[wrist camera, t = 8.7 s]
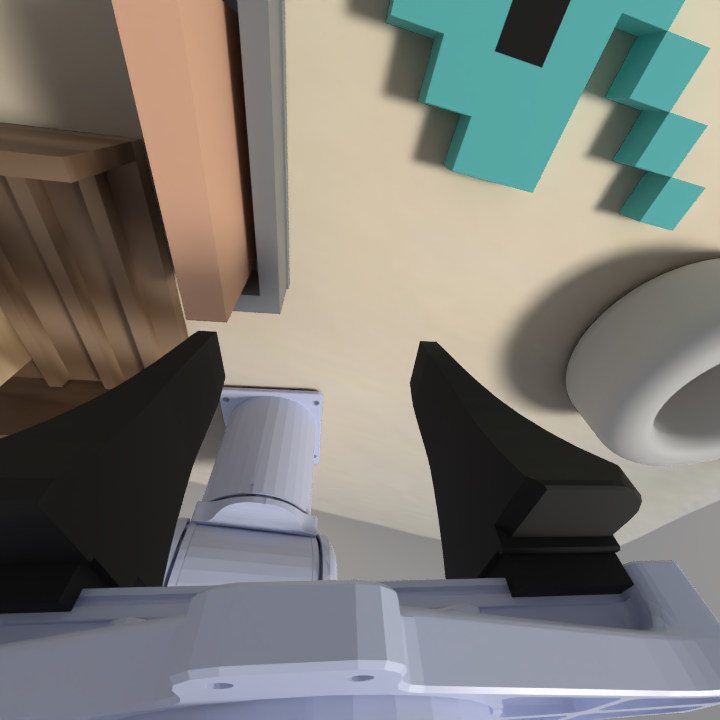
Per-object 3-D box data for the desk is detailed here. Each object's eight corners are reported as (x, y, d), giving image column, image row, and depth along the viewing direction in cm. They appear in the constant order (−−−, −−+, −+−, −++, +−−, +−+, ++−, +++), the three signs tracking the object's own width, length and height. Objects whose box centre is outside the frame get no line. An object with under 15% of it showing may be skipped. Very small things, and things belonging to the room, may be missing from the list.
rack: (199, 383, 26) (169, 447, 21) (13, 375, 25) (-63, 441, 20) (140, 139, 16) (62, 157, 12) (-171, 102, 15) (-403, 106, 10)
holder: (289, 283, 21) (282, 314, 19) (207, 277, 21) (185, 307, 18) (283, -54, 13) (267, -99, 10) (144, -80, 12) (83, -136, 9)
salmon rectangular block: (258, 258, 20) (226, 322, 14) (229, 255, 19) (186, 319, 14) (239, 14, 13) (172, -40, 8) (197, 8, 13) (99, -53, 8)
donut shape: (775, 199, 20) (929, 237, 15) (774, 353, 28) (876, 413, 22) (531, 336, 25) (582, 399, 20) (587, 433, 33) (634, 497, 28)
